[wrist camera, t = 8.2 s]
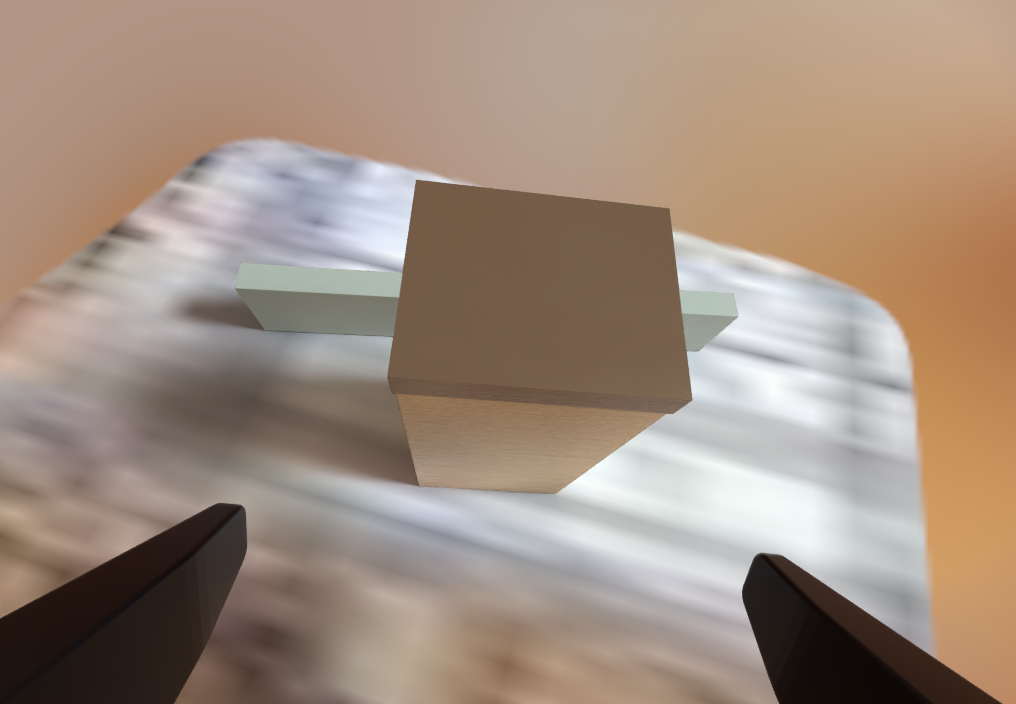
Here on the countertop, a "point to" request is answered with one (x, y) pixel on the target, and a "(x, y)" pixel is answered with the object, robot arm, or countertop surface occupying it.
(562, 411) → the brown block
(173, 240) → the countertop surface
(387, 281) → the rail
